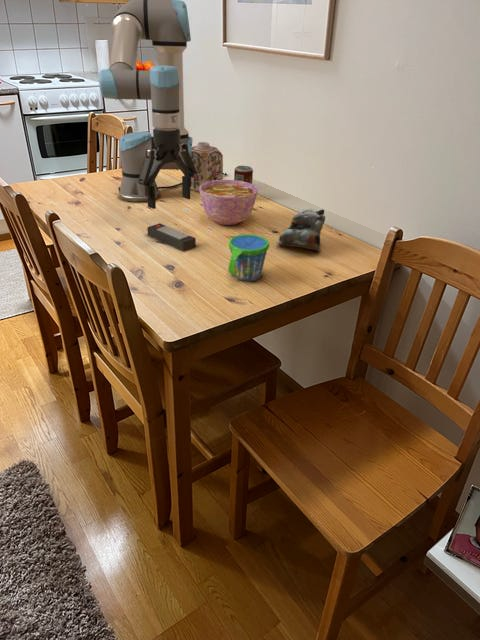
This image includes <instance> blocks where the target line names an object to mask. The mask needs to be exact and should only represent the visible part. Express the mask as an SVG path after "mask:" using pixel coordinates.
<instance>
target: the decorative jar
mask: <svg viewBox="0 0 480 640" xmlns="http://www.w3.org/2000/svg"><path fill="white" fill-rule="evenodd" d="M191 159H192V161H193V164H194V166H195V169H196V171H197V172H196V174H194V177H193V178H192V177H191V187H190V191H192V192H193V191H194V192H196V193H200V190H199V187H200V186H201V185H202V184H204V183H206V182H210V181H215V180H224V174H223V172H224V156H223V153H222V152H221V151H220V150H219V148H218V147H215V146H211V145H210V143H209V142H207V141H199V142H197V145H195V146H192V152H191ZM183 176H185V175H184V174H183Z"/></svg>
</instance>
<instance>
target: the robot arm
mask: <svg viewBox="0 0 480 640" xmlns="http://www.w3.org/2000/svg"><path fill="white" fill-rule="evenodd" d="M190 29H191V27H190V21H189V15H188V7H187V4H186V3H185V1H184V0H129V1H127V2H125V3H124V4H123V5H121V6H120V8H118V10H117V11H116V12H115V14H114V15H113V18H112V22H111V33H112V35H113V39H112V44H111V45H112V46H111V53H110V59H109V67H108V68H106V69H105V68H104V69H101V70H99V73H98V85H99V92H100V95H101V96H102V98H104V99H108V100H115V101H117V100H139V101H140V100H141V101H142V100H144V101H151V120H152V121H151V122H152V127H153V129H152V133H151V132H150V131H141V130H140V131H134V132H128V133H126V134H123V135H122V136H121V137H120V138H119V154H120V155H119V156H120V165H121V175H122V176H121V182H120V186H119V187H118V188H117V189H118V195H119V196H118V197H119V198H120V199H121V200H123V201H126V202H131V203H146V202H147V207H148V208H150V209H153V210H155V209H156V208H157V205H156V200H157V199H159V197H160V190H164V189H165V190H167V189H173V188H177V187H180V186H181V188H182V189H181V190H182V198H183V199H186V200H191V190H190V187H191V177H192V178H193V177H194V174H196V172H197V171H196V169H195V166H194V164H193V161H192V159H191V152H192V147H193V137H191V136H190V133H189V131H188V130H187V129H186V127H185V101H184V98H185V97H184V62H183V61H184V60H183V59H184V58H183V56H184V55H183V54H184V52H185V50H186V49H187V47H188V44H187V43H189V42H191V41H192V38H191V37H192V36H191V30H190ZM141 40H145V41H146V40H147V41H151V44H152V48H153V49H154V51H156V56H157V57H156V58H157V64H156V65H152V66H150V68H149V70H139V69H137V64H138V63H137V62H138V61H137V60H138V53H139V52H138V50H139V42H140V41H141ZM161 170H167V171H168V170H172V171H175V170H176V171H179V170H180V172H181V173H182V174H183V175H182V176H181V182H180V183H176V184H174V185H169V186H168V185H167V186H158V185H157V182H156V179H157V177H158V174H159V173H160V171H161ZM184 175H185V176H184ZM223 175H224V176H228V174H227V173H226V172H225V174H224V173H223Z"/></svg>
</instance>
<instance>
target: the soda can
mask: <svg viewBox="0 0 480 640" xmlns="http://www.w3.org/2000/svg"><path fill="white" fill-rule="evenodd" d="M233 174H234V176H233V177H234V178H233V180H236V181H243V182H248V183H250V184H253V176H254V169H253V168H252V167H251V166H249V165H238V166H236V167H235V168H234V173H233Z"/></svg>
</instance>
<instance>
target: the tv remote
mask: <svg viewBox="0 0 480 640" xmlns="http://www.w3.org/2000/svg"><path fill="white" fill-rule="evenodd" d="M146 231H147V236H148V237H150V238H153V239H155V240H157V241H159V242H162V243H164V244H167V245H168V246H170V247H174V248H175V249H178V250H179V251H182V252H184V251H187V250H190V249H193V248H195V247H196V246H197V243H196V242H197V238H196V237H194V236H192V235H190V234H188V233H184V232H182V231H179V230H177V229H175V228H172V227H170V226H167V225H165V224H164V223H161V222H159V223H156V224H153V225H151V226H147V227H146Z"/></svg>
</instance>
